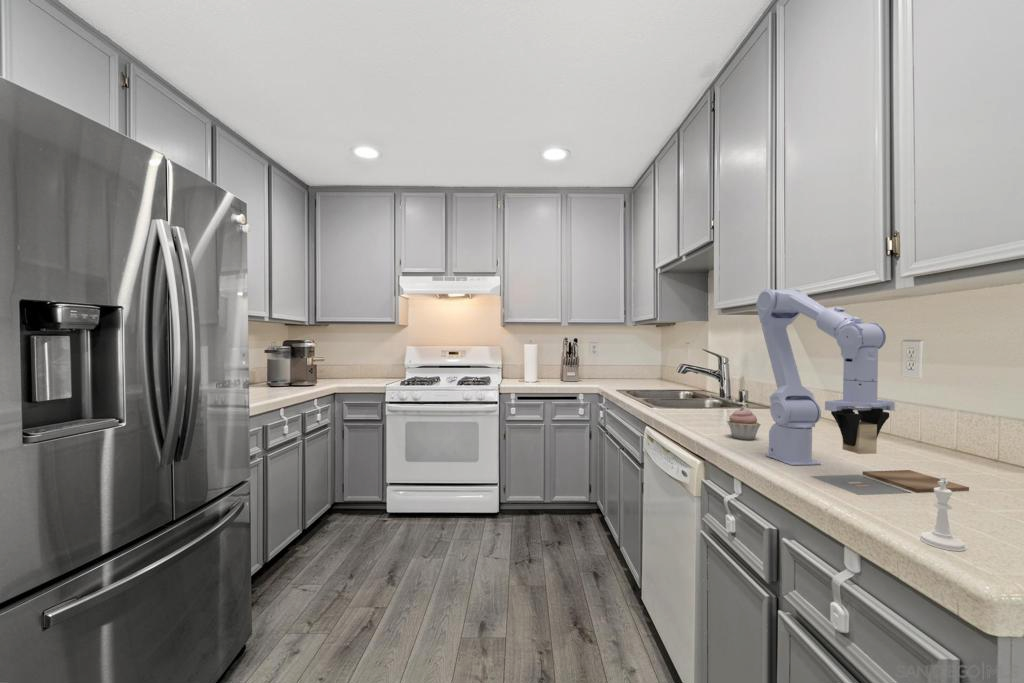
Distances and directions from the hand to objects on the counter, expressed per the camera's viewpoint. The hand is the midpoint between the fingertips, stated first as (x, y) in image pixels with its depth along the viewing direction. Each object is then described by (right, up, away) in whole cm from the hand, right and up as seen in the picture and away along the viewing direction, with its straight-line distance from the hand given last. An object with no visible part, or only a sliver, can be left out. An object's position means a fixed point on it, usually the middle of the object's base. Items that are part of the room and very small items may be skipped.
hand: (859, 444), depth 94 cm
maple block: (0, -1, 0) cm, 1 cm away
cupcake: (-2, -8, +44) cm, 45 cm away
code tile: (0, -8, 0) cm, 8 cm away
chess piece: (-9, -9, -27) cm, 30 cm away
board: (+13, -9, +2) cm, 15 cm away
